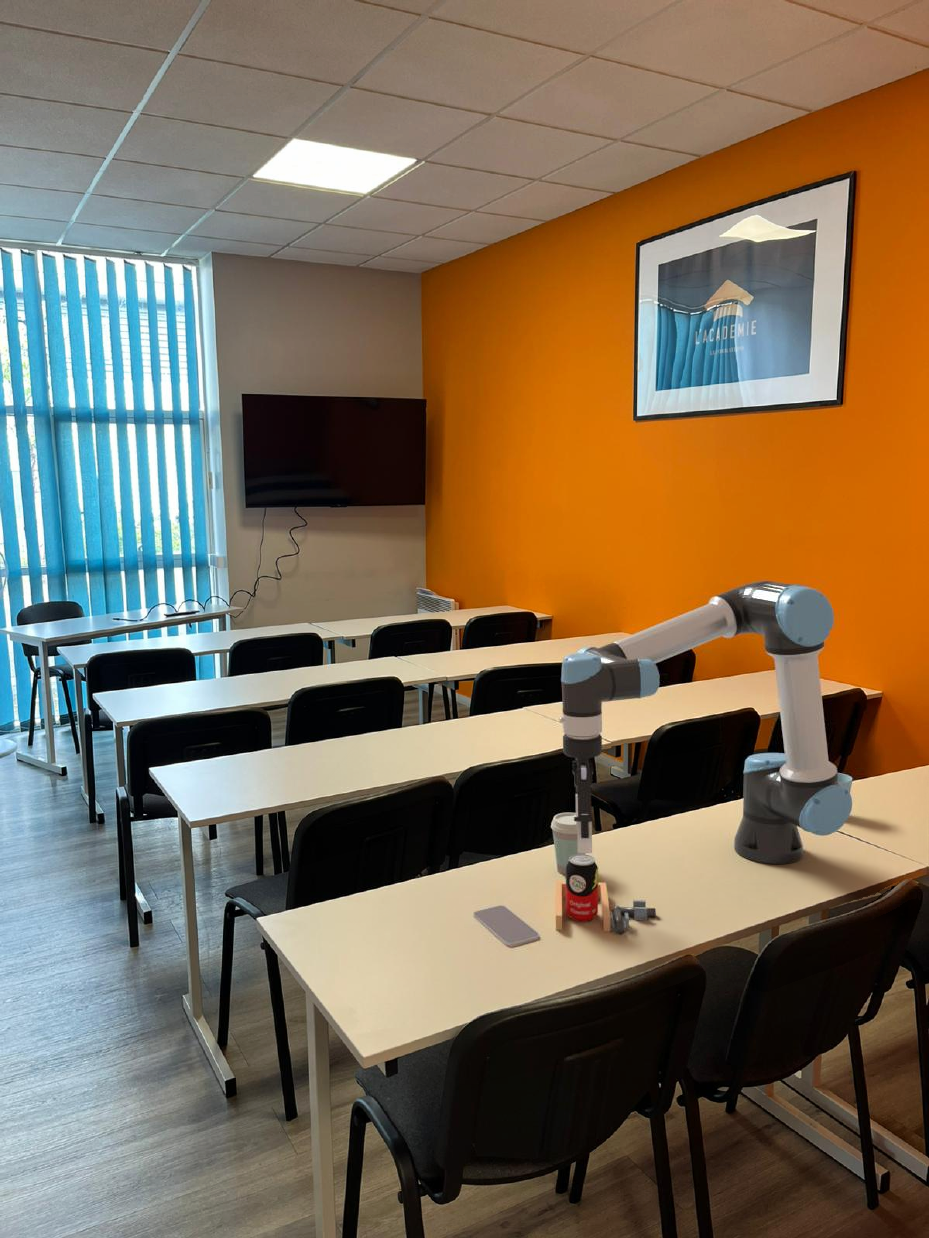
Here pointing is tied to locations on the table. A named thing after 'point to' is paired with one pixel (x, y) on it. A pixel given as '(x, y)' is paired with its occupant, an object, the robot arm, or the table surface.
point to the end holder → (601, 895)
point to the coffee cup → (564, 839)
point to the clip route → (637, 911)
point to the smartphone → (506, 925)
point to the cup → (845, 781)
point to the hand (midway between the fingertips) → (583, 838)
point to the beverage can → (581, 888)
